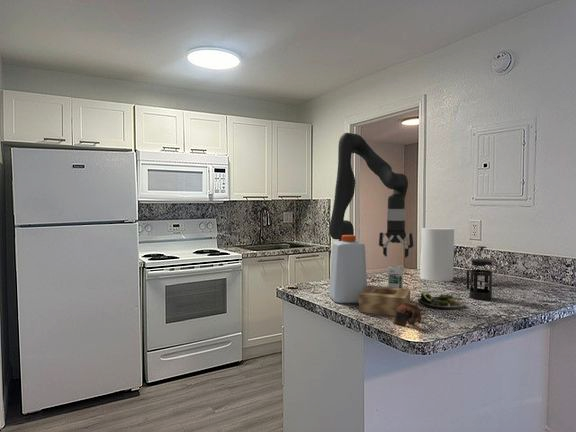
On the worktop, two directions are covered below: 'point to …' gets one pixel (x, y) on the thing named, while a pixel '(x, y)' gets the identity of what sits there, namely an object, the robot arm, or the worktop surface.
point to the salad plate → (440, 301)
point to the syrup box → (395, 277)
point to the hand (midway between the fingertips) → (395, 256)
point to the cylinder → (437, 254)
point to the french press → (474, 291)
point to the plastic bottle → (347, 270)
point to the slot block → (382, 299)
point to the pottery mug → (412, 314)
